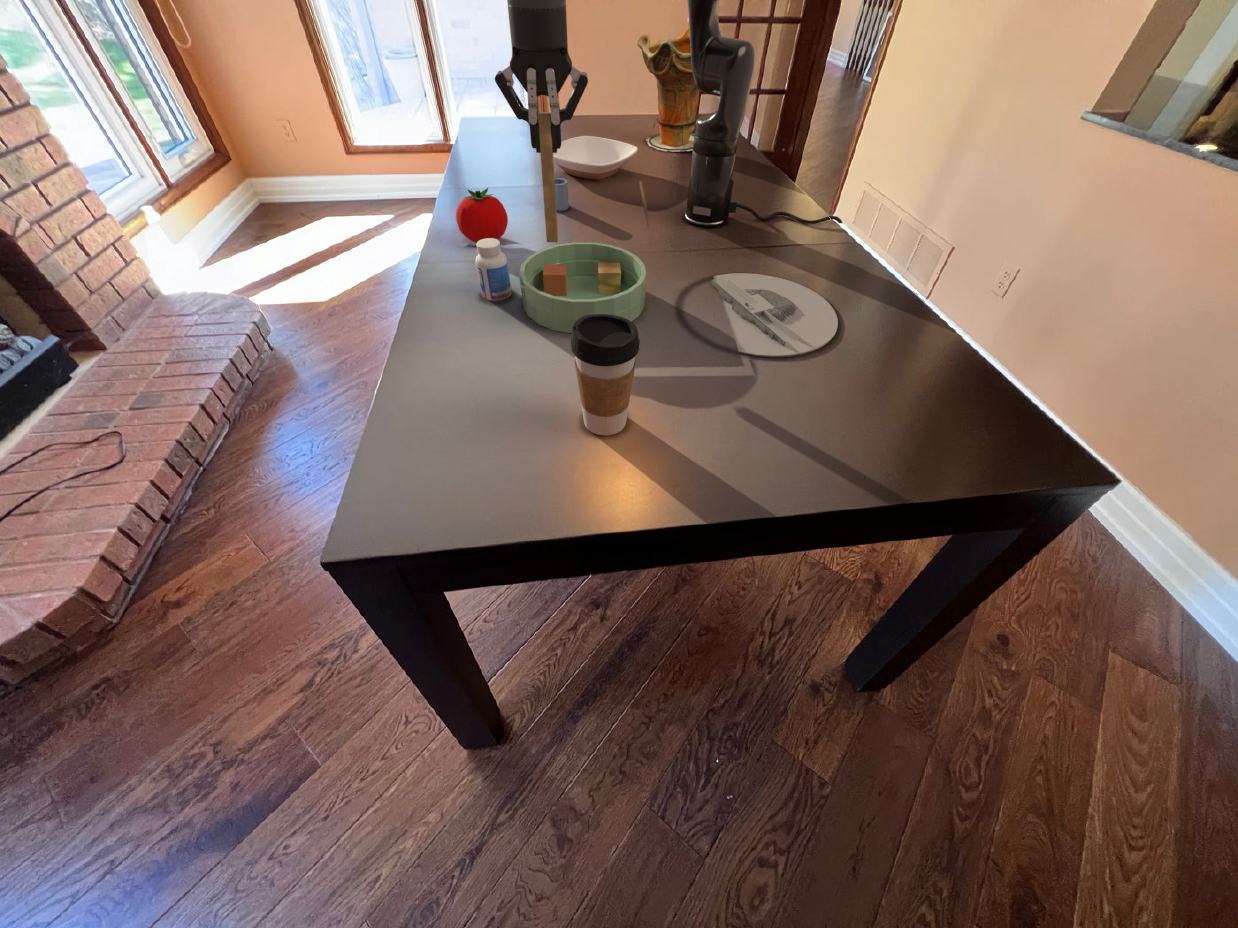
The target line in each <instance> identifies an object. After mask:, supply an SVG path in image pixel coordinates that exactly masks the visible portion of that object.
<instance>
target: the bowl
mask: <svg viewBox="0 0 1238 928" xmlns="http://www.w3.org/2000/svg"><path fill="white" fill-rule="evenodd" d="M638 150H639V148H638V146H635V145H633V144H631V143H627V142H624V141H620V140H616V139H611V138H605V137H600V136H599V137H598V136H592V135H581V136H576V137H571V138H568V139H565V140H561V147H560V149H557V153H553V159H554V164H556V165H557V166H558V167H559V168H560V169H561V170H562V171H563V172H564V173H566V174H569V175H571V176H574V177H577V178H581V179H582V178H583V179H588V180H596V181H597V180H602V179H607V178H609V177H611V176H613V175H615V174H616V173H617V172H619V170H620V169H621V168H622V167H623V166H624V165H626V163H628V162H629V161H630V160H631V159H632V158H633V157H634V156H635V155H636V154H637V152H638Z"/></svg>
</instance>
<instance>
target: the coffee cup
mask: <svg viewBox="0 0 1238 928" xmlns="http://www.w3.org/2000/svg"><path fill="white" fill-rule="evenodd" d="M640 340H641V339H640V338H639V331H638V327H637V326H636V325H635V323H634V322H633V321H632V322H631V321H629V320H628V319H625V318H623V317H619V316H615V315H607V314H593V315H586V316H583V317H581V318H579V319H578V320H577V321H576V322H575V323H574V325H573V327H572V333H571V338H570V345H571V346H570V349H571V352H572V353H573V355H574V357H575V358H574V367H575V374H576V379H577V385H578V386H577V387H578V392H579V400H580V404H581V410H582V418H583V424H584V426H585V428H586V429H587V430H588V431H589V432H590V433H592V434H595V435H597V436H612V435H615V434H618V433H619V432H622V430H623V429H624V428H625V426H626V424H627V419H628V412H629V405H630V401H631V395H632V388H633V382H634V376H635V370H636V365H637V363H636V361H637V360H636V356H637V355H638V354H639V351H640V344H641V341H640Z"/></svg>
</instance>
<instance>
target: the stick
mask: <svg viewBox="0 0 1238 928" xmlns="http://www.w3.org/2000/svg"><path fill="white" fill-rule="evenodd" d="M551 121H552V118H551V111H538V124H539V134H540V153H539V154H540V164H541V165H540V166H541V181H542V194H543V196H542V197H543V209H544V223H545V238H546V239H545V240H546V243H558V242H559V231H558V215H557V213H558V211H556V194H555V178H556V177H555V162H554V159H553V151H552V138H551Z"/></svg>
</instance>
